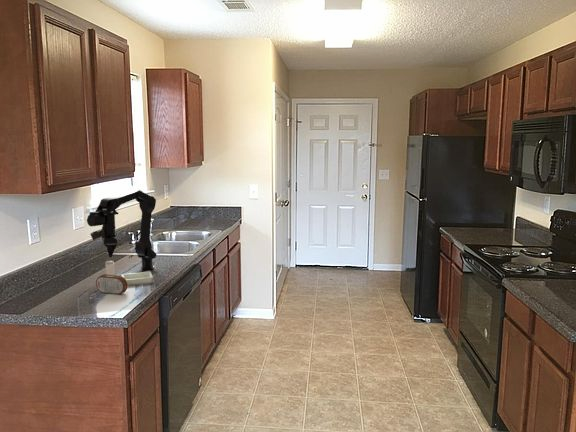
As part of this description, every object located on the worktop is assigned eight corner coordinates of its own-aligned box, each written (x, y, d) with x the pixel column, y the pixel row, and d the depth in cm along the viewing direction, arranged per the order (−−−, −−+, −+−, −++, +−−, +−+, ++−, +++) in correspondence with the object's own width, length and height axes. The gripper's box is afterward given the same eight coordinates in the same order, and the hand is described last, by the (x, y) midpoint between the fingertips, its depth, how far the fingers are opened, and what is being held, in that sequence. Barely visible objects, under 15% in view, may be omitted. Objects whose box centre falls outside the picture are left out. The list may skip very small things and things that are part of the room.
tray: (121, 280, 234) (121, 274, 234) (150, 277, 239) (150, 271, 239) (122, 286, 223) (122, 280, 223) (153, 283, 228) (153, 277, 228)
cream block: (106, 278, 237) (105, 260, 236) (114, 277, 239) (113, 260, 237) (106, 280, 233) (105, 262, 232) (114, 279, 235) (114, 262, 234)
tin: (128, 293, 212) (127, 275, 211) (124, 295, 209) (123, 277, 208) (99, 291, 216) (98, 273, 215) (95, 293, 213) (94, 274, 212)
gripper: (90, 222, 237) (91, 252, 239) (91, 227, 220) (92, 260, 222) (114, 221, 241) (115, 251, 243) (117, 226, 225) (117, 258, 226)
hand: (109, 255), depth 234 cm, fingers open, 9 cm apart
